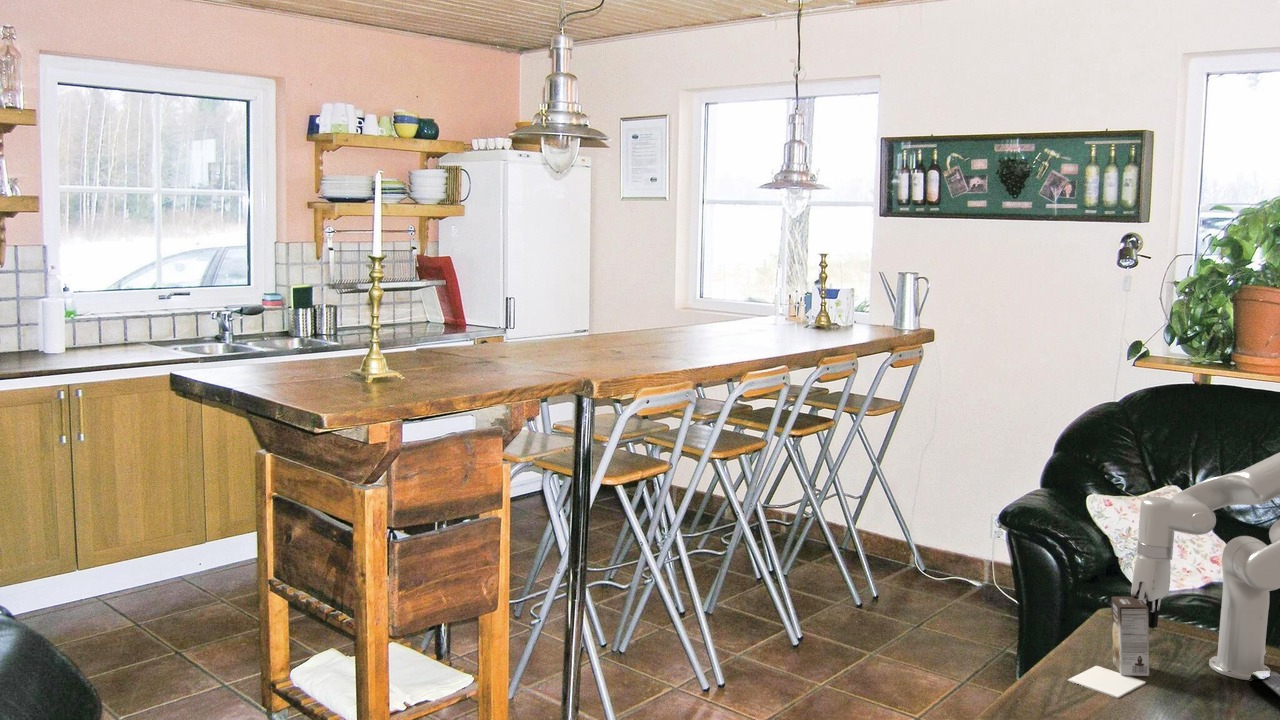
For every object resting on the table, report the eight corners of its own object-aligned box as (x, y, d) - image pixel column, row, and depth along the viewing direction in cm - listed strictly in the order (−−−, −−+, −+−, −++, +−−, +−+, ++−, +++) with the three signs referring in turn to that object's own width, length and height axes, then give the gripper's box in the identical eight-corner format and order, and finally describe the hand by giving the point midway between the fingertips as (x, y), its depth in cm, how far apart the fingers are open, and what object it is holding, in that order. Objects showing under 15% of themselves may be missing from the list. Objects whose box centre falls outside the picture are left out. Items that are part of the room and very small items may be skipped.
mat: (1096, 667, 255) (1096, 665, 255) (1145, 683, 246) (1145, 681, 246) (1067, 681, 247) (1067, 679, 247) (1117, 698, 238) (1117, 696, 238)
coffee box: (1111, 662, 258) (1110, 595, 257) (1140, 663, 257) (1139, 595, 256) (1120, 675, 249) (1119, 606, 248) (1151, 676, 248) (1149, 606, 247)
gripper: (1153, 541, 262) (1148, 615, 264) (1123, 552, 252) (1117, 628, 255) (1185, 548, 256) (1179, 624, 258) (1156, 560, 247) (1149, 638, 249)
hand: (1148, 626), depth 257 cm, fingers closed
